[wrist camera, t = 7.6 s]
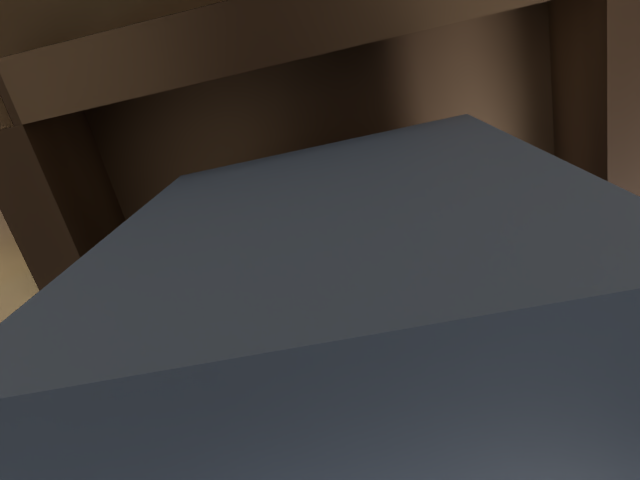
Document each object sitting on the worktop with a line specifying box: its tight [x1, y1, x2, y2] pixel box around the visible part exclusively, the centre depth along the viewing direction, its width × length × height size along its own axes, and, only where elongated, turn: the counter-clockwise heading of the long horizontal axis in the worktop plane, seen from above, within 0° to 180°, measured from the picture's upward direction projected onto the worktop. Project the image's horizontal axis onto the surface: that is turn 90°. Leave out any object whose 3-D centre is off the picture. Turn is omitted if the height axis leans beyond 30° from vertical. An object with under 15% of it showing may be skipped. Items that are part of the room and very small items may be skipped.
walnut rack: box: [0, 0, 640, 291], centre depth 11 cm, size 12×14×3 cm
